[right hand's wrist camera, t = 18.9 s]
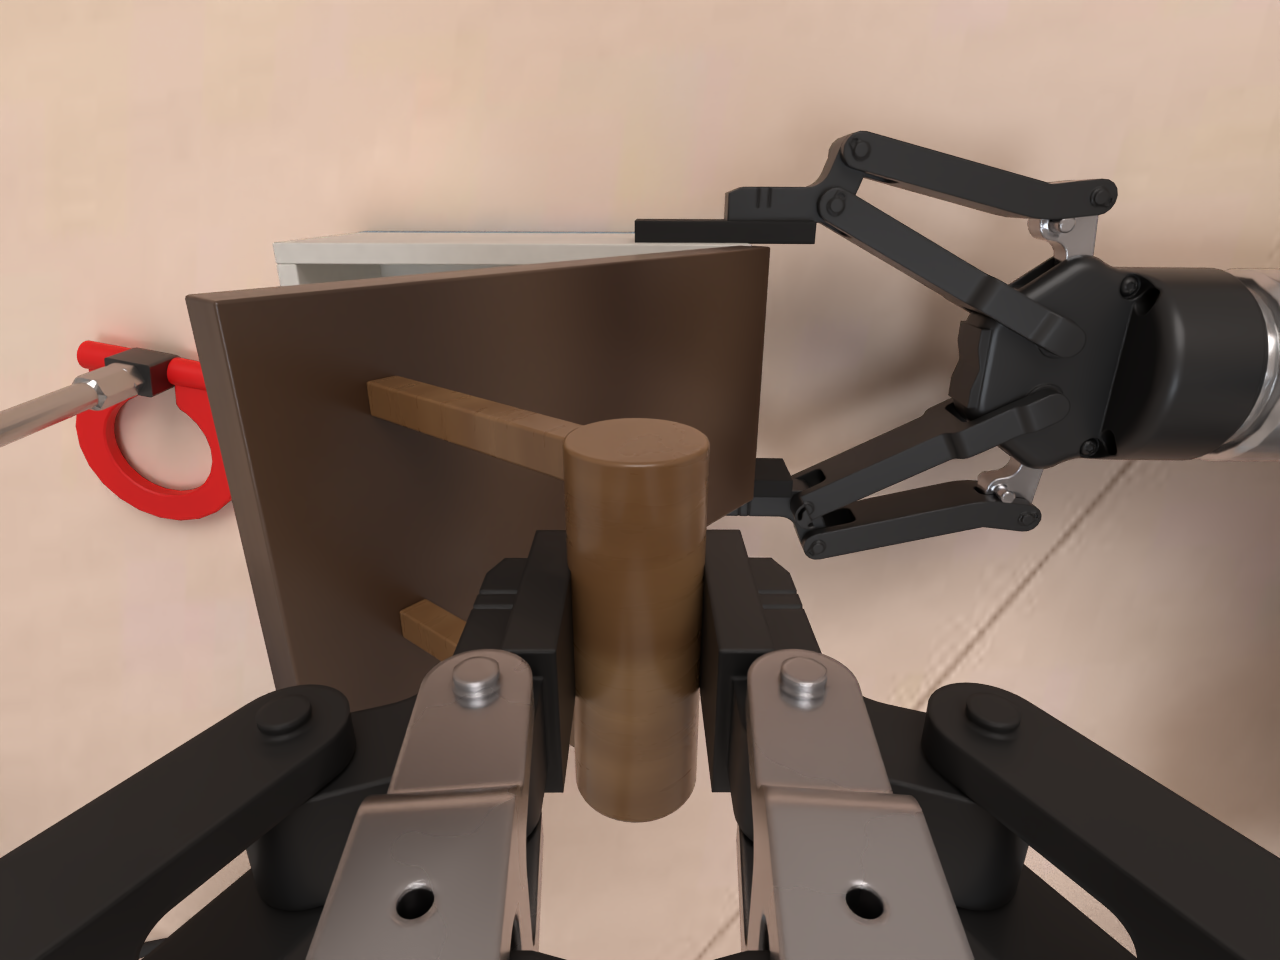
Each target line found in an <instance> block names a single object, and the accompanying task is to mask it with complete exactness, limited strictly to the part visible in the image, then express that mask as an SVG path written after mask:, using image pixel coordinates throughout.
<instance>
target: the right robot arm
mask: <svg viewBox="0 0 1280 960" xmlns="http://www.w3.org/2000/svg"><path fill="white" fill-rule="evenodd" d="M699 688H700V696H701V705H702V713H703V721H704V730H705V738H706V746H707V755H708V763H709V772H710V780H711V788H712V792H731V797H732V804H733V810H734V815H735V819H736V821H737V838H736V842H737V865H738V887H739V909H740V932H741V952H740V953H737V954H733V955H729V956H726V957H722V958H718V959H715V960H1280V858H1279V857H1277V856H1275V855H1274V854H1272V853H1271V852H1269V851H1267V850H1266V849H1264V848H1263V847H1261V846H1259V845H1258V844H1256V843H1255V842H1253V841H1251V840H1250V839H1248V838H1246V837H1245V836H1243V835H1242V834H1240V833H1238V832H1237V831H1235V830H1234V829H1232V828H1230V827H1229V826H1227V825H1226V824H1224V823H1222V822H1221V821H1219V820H1218V819H1216V818H1214V817H1213V816H1211V815H1210V814H1208V813H1206V812H1205V811H1203V810H1202V809H1200V808H1198V807H1197V806H1195V805H1194V804H1192V803H1190V802H1189V801H1187V800H1186V799H1184V798H1182V797H1181V796H1179V795H1178V794H1176V793H1174V792H1173V791H1171V790H1170V789H1168V788H1166V787H1165V786H1163V785H1162V784H1160V783H1158V782H1157V781H1155V780H1154V779H1152V778H1150V777H1149V776H1147V775H1146V774H1144V773H1142V772H1141V771H1139V770H1138V769H1136V768H1134V767H1133V766H1131V765H1130V764H1128V763H1126V762H1125V761H1123V760H1122V759H1120V758H1118V757H1117V756H1115V755H1113V754H1112V753H1110V752H1109V751H1107V750H1105V749H1104V748H1102V747H1101V746H1099V745H1097V744H1096V743H1094V742H1093V741H1091V740H1089V739H1088V738H1086V737H1085V736H1083V735H1081V734H1080V733H1078V732H1077V731H1075V730H1073V729H1072V728H1070V727H1069V726H1067V725H1065V724H1064V723H1062V722H1061V721H1059V720H1057V719H1056V718H1054V717H1053V716H1051V715H1049V714H1048V713H1046V712H1045V711H1043V710H1041V709H1040V708H1038V707H1037V706H1035V705H1033V704H1032V703H1030V702H1029V701H1027V700H1025V699H1023V698H1021V697H1020V696H1018V695H1015V694H1013V693H1011V692H1009V691H1006V690H1003V689H1000V688H997V687H993V686H989V685H984V684H978V683H955V684H949V685H946V686H943V687H941V688H939V689H937V690H936V691H935V692H934V693H933V694H932V695H931V697H930V698H929V701H928V706H927V711H926V713H925V712H920V711H916V710H911V709H907V708H902V707H897V706H893V705H888V704H884V703H881V702H877V701H874V700H871V699H868V698H866V697H864V696H862V693H861V689H860V686H859V683H858V681H857V679H856V677H855V676H854V675H853V673H852V672H851V671H850V670H849V669H848V668H847V667H846V666H844V665H843V664H841V663H840V662H838V661H837V660H835V659H833V658H831V657H829V656H826V655H824V654H822V653H821V651H820V648H819V646H818V643H817V641H816V638H815V636H814V633H813V631H812V628H811V626H810V623H809V621H808V618H807V616H806V613H805V611H804V609H802V603H801V600H800V598H799V595H798V594H797V590H796V588H795V585H794V583H793V580H792V578H791V575H790V573H789V572H788V571H787V570H785V569H784V568H783V567H782V566H781V565H779V564H778V563H777V562H776V561H774V560H773V559H772V558H748V555H747V552H746V549H745V545H744V542H743V539H742V535H741V532H740V530H706V551H705V565H704V585H703V610H702V635H701V660H700V685H699ZM575 697H576V692H575V667H574V643H573V618H572V594H571V571H570V569H569V567H568V564H567V545H566V530H536V533H535V536H534V539H533V542H532V545H531V549H530V552H529V555H528V558H504V559H503V560H502V561H501V562H499V563H498V564H497V565H496V566H494V567H493V568H492V569H491V570H490V571H488V572H487V573H486V575H485V578H484V580H483V583H482V585H481V588H480V590H479V594H478V595H477V597H476V600H475V602H474V605H473V609H472V610H471V612H470V615H469V617H468V619H467V622H466V624H465V627H464V629H463V632H462V634H461V637H460V639H459V642H458V644H457V646H456V649H455V651H454V654H453V656H451V657H449V658H447V659H445V660H443V661H442V662H440V663H438V664H437V665H436V666H434V667H433V668H432V669H431V670H430V671H429V672H428V673H427V674H426V676H425V677H424V679H423V681H422V683H421V686H420V689H419V692H418V694H416V695H414V696H412V697H410V698H407V699H404V700H402V701H399V702H395V703H391V704H388V705H383V706H379V707H374V708H369V709H365V710H360V711H355V712H351V711H350V706H349V701H348V699H347V698H346V696H345V695H344V694H343V693H342V692H340V691H339V690H337V689H335V688H332V687H329V686H324V685H315V684H308V685H297V686H291V687H287V688H283V689H279V690H276V691H273V692H271V693H268V694H266V695H263V696H261V697H259V698H257V699H255V700H254V701H252V702H250V703H248V704H247V705H245V706H243V707H242V708H240V709H239V710H237V711H235V712H234V713H232V714H231V715H229V716H227V717H226V718H224V719H223V720H221V721H219V722H218V723H216V724H215V725H213V726H211V727H210V728H208V729H207V730H205V731H203V732H202V733H200V734H199V735H197V736H195V737H194V738H192V739H191V740H189V741H187V742H186V743H184V744H183V745H181V746H179V747H178V748H176V749H174V750H173V751H171V752H170V753H168V754H166V755H165V756H163V757H162V758H160V759H158V760H157V761H155V762H154V763H152V764H150V765H149V766H147V767H146V768H144V769H142V770H141V771H139V772H138V773H136V774H134V775H133V776H131V777H130V778H128V779H126V780H125V781H123V782H122V783H120V784H118V785H117V786H115V787H114V788H112V789H110V790H109V791H107V792H106V793H104V794H102V795H101V796H99V797H98V798H96V799H94V800H93V801H91V802H90V803H88V804H86V805H85V806H83V807H82V808H80V809H78V810H77V811H75V812H74V813H72V814H70V815H69V816H67V817H66V818H64V819H62V820H61V821H59V822H58V823H56V824H54V825H53V826H51V827H50V828H48V829H46V830H45V831H43V832H41V833H40V834H38V835H37V836H35V837H33V838H32V839H30V840H29V841H27V842H25V843H24V844H22V845H21V846H19V847H17V848H16V849H14V850H13V851H11V852H9V853H8V854H6V855H5V856H3V857H1V858H0V960H139V959H140V958H142V957H144V958H143V959H141V960H565V959H562V958H558V957H554V956H551V955H547V954H543V953H540V952H539V930H540V907H541V885H542V862H543V825H542V803H543V797H544V793H554V792H563V791H564V783H565V775H566V767H567V760H568V752H569V744H570V736H571V728H572V720H573V712H574V705H575ZM1028 846H1031V847H1032V848H1033V849H1034V850H1036V851H1037V852H1038V853H1039V854H1041V855H1042V856H1043V857H1044V858H1046V859H1047V860H1048V861H1049V862H1051V863H1052V864H1053V865H1054V866H1055V867H1057V868H1058V869H1059V870H1060V871H1062V872H1063V873H1064V874H1065V875H1067V876H1068V877H1069V878H1070V879H1072V880H1073V881H1074V882H1075V883H1077V884H1078V885H1079V886H1080V887H1082V888H1083V889H1084V890H1085V891H1087V892H1088V893H1089V894H1090V895H1092V896H1093V897H1094V898H1095V899H1097V900H1098V901H1099V902H1100V903H1102V904H1103V905H1104V906H1105V907H1106V908H1108V909H1109V910H1110V911H1111V912H1112V913H1113V914H1114V915H1115V916H1116V917H1117V918H1118V919H1119V921H1120V922H1121V923H1122V924H1123V926H1124V927H1125V929H1126V930H1127V932H1128V933H1129V935H1130V937H1131V939H1132V941H1133V944H1134V946H1135V949H1136V954H1137V958H1136V957H1135V956H1134V955H1133V954H1131V953H1130V952H1129V951H1128V950H1127V949H1125V948H1124V947H1123V946H1122V945H1121V944H1119V943H1118V942H1117V941H1116V940H1115V939H1113V938H1112V937H1111V936H1110V935H1109V934H1107V933H1106V932H1105V931H1104V930H1103V929H1101V928H1100V927H1099V926H1098V925H1097V924H1095V923H1094V922H1093V921H1092V920H1090V919H1089V918H1088V917H1087V916H1086V915H1084V914H1083V913H1082V912H1081V911H1080V910H1078V909H1077V908H1076V907H1075V906H1074V905H1072V904H1071V903H1070V902H1069V901H1068V900H1066V899H1065V898H1064V897H1063V896H1062V895H1060V894H1059V893H1058V892H1057V891H1056V890H1054V889H1053V888H1052V887H1051V886H1050V885H1048V884H1047V883H1046V882H1045V881H1044V880H1042V879H1041V878H1040V877H1039V876H1038V875H1036V874H1035V873H1034V872H1033V871H1032V870H1030V869H1029V868H1028V867H1027V866H1026V865H1024V861H1025V857H1026V853H1027V850H1028ZM244 850H246V851H247V855H248V858H249V862H250V865H251V869H250V870H248V871H247V872H246V873H245V874H244V875H242V876H241V877H240V878H239V879H238V880H236V881H235V882H234V883H233V884H232V885H230V886H229V887H228V888H227V889H226V890H224V891H223V892H222V893H221V894H220V895H218V896H217V897H216V898H215V899H214V900H212V901H211V902H210V903H209V904H208V905H206V906H205V907H204V908H203V909H202V910H200V911H199V912H198V913H197V914H195V915H194V916H193V917H192V918H191V919H189V920H188V921H187V922H186V923H185V924H183V925H182V926H181V927H180V928H179V929H177V930H176V931H175V932H174V933H173V934H171V935H170V936H169V937H168V938H164V939H159V940H154V941H150V942H145V940H146V938H147V936H148V935H149V933H150V932H151V930H152V929H153V927H154V926H155V925H156V924H157V922H158V921H159V920H160V919H161V918H162V917H163V916H164V915H165V914H166V913H167V912H169V911H170V910H171V909H172V908H173V907H175V906H176V905H177V904H178V903H180V902H181V901H182V900H183V899H185V898H186V897H187V896H188V895H190V894H191V893H192V892H193V891H195V890H196V889H197V888H198V887H200V886H201V885H202V884H203V883H205V882H206V881H207V880H208V879H210V878H211V877H212V876H213V875H215V874H216V873H217V872H218V871H219V870H221V869H222V868H223V867H224V866H226V865H227V864H228V863H229V862H231V861H232V860H233V859H234V858H236V857H237V856H238V855H239V854H241V853H242V852H243V851H244ZM144 942H145V943H144Z"/></svg>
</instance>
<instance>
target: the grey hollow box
mask: <svg viewBox="0 0 1280 960" xmlns="http://www.w3.org/2000/svg"><path fill="white" fill-rule="evenodd" d="M738 245H742V246H752V245H751V244H749V243H635V232H445V231H364V232H358V233H350V234H342V235H333V236H325V237H316V238H308V239H299V240H291V241H283V242H274V243H273V249H274V254H275V260H276V263H277V270H278V275H279V281H280V286H291V285H302V284H313V283H324V282H336V281H347V280H358V279H369V278H380V277H392V276H403V275H414V274H425V273H436V272H448V271H459V270H470V269H481V268H492V267H503V266H515V265H526V264H537V263H548V262H559V261H571V260H582V259H593V258H604V257H615V256H626V255H638V254H649V253H660V252H671V251H682V250H694V249H705V248H716V247H727V246H738Z"/></svg>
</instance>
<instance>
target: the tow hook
mask: <svg viewBox="0 0 1280 960" xmlns="http://www.w3.org/2000/svg"><path fill="white" fill-rule="evenodd" d="M77 360H78V362H79V364H80V365H81V366H82V367H83V368H87V369H89V372H88V373H85V374H82V375H80V376H78V377H76V378H75V380H74V381H73V383H72V385H70V386H67V387H65V388H62V389H59V390H57V391H54V392H51V393H49V394H46V395H43V396H41V397H38V398H35V399H33V400H30V401H27V402H25V403H22V404H19V405H17V406H14V407H11V408H9V409H6V410H3V411H1V412H0V447H3V446H5V445H7V444H10V443H12V442H14V441H17V440H19V439H21V438H24V437H26V436H28V435H31V434H33V433H35V432H38V431H40V430H42V429H45V428H47V427H49V426H52V425H54V424H56V423H59V422H61V421H63V420H66V419H68V418H70V417H73V416H75V415H77V417H76V430H77V435H78V440H79V444H80V447H81V449H82V452H83V454H84V456H85V458H86V460H87V462H88V464H89V466H90V467H91V468H92V470H93V471H94V472H95V474H96V475H97V476H98V478H99V479H100V480H101V481H102V483H103V484H104V485H105V486H107V487H108V488H109V489H110V490H111V491H112V492H113V493H115V494H116V495H117V496H118V497H119V498H120V499H122V500H124V501H125V502H127V503H129V504H130V505H132V506H134V507H135V508H137V509H139V510H141V511H144V512H146V513H149V514H152V515H155V516H157V517H160V518H167V519H174V520H190V519H200V518H203V517H205V516H208V515H210V514H213V513H215V512H217V511H218V510H220V509H221V508H222V507H223V506H225V505H226V504H227V503H228V502H230V501H231V500H232V498H231V494H230V490H229V485H228V481H227V477H226V472H225V468H224V464H223V460H222V455H221V451H220V447H219V442H218V438H217V434H216V429H215V425H214V421H213V416H212V412H211V408H210V404H209V399H208V395H207V391H206V386H205V382H204V378H203V373H202V369H201V365H200V362H199V361H194V360H189V359H184V358H181V357H179V356H178V355H173V354H168V353H163V352H158V351H152V350H147V349H142V348H132V349H131V348H126V347H120V346H115V345H110V344H105V343H99V342H94V341H89V340H88V341H85V342H83V343H82V344H81V345H80V346H79V348H78V351H77ZM173 387H175V394H176V404H177V406H178V407H179V408H180V410H182V411H183V412H185V413H186V414H187V415H188V416H189V417H190V418H192V419H193V420H194V421H195V422H196V423H197V424H198V426H199V427H200V429H201V430H202V432H203V433H204V434H205V436H206V438H207V441H208V443H209V446H210V448H211V454H212V467H211V473H210V475H209V477H208V478H207V480H206V482H205V483H204V484H203V485H202V486H200V487H198V488H195V489H193V490H183V491H179V490H172V489H166V488H164V487H161V486H158V485H155V484H153V483H152V482H150V481H148V480H147V479H145V478H143V477H142V476H141V475H139V474H138V473H137V472H136V471H135V470H134V469H133V468H132V467H131V466H130V465H129V464H128V462H127V461H126V460H125V458H124V457H123V456H122V454H121V452H120V450H119V447H118V445H117V443H116V439H115V433H114V424H115V417H116V415H117V413H118V411H119V409H120V407H121V406H122V405H124V404H125V403H126V402H127V401H128V400H129V399H132V398H134V397H136V396H137V395H141V396H146V397H153V396H155V395H157V394H159V393H162V392H164V391H166V390H168V389H170V388H173Z"/></svg>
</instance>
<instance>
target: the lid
mask: <svg viewBox="0 0 1280 960" xmlns="http://www.w3.org/2000/svg"><path fill="white" fill-rule="evenodd" d="M769 258H770V248H769V247H762V246H742V245H738V246H727V247H716V248H705V249H694V250H682V251H671V252H660V253H649V254H638V255H626V256H615V257H604V258H593V259H582V260H571V261H559V262H548V263H537V264H526V265H515V266H503V267H492V268H481V269H470V270H459V271H448V272H436V273H425V274H414V275H403V276H392V277H380V278H369V279H358V280H347V281H336V282H324V283H313V284H302V285H291V286H280V287H269V288H257V289H246V290H235V291H224V292H213V293H201V294H190V295H187V296H186V298H185V300H186V304H187V309H188V313H189V317H190V322H191V326H192V330H193V335H194V339H195V343H196V348H197V352H198V356H199V360H200V365H201V369H202V373H203V378H204V382H205V386H206V391H207V395H208V399H209V404H210V408H211V412H212V416H213V421H214V425H215V429H216V434H217V438H218V442H219V447H220V451H221V455H222V460H223V464H224V468H225V472H226V477H227V481H228V485H229V490H230V494H231V498H232V503H233V507H234V511H235V516H236V520H237V524H238V528H239V533H240V537H241V541H242V546H243V550H244V554H245V559H246V563H247V567H248V572H249V576H250V580H251V584H252V589H253V593H254V597H255V602H256V606H257V610H258V615H259V619H260V623H261V628H262V632H263V636H264V640H265V645H266V649H267V653H268V658H269V662H270V666H271V671H272V675H273V679H274V684H275V688H276V690H279V689H283V688H287V687H291V686H297V685H308V684H315V685H324V686H329V687H332V688H335V689H337V690H339V691H340V692H342V693H343V694H344V695H345V696H346V698H347V699H348V701H349V706H350V711H351V712H355V711H360V710H365V709H369V708H374V707H379V706H383V705H388V704H391V703H395V702H399V701H402V700H404V699H407V698H410V697H412V696H414V695H416V694H418V692H419V689H420V686H421V683H422V681H423V679H424V677H425V676H426V674H427V673H428V672H429V671H430V670H431V669H432V668H433V667H434V666H436V665H437V664H438V663H440V662H442V661H443V660H445V659H447V658H449V657H451V656H453V654H454V651H455V649H456V646H457V644H458V642H459V639H460V637H461V634H462V632H463V629H464V627H465V624H466V622H467V619H468V617H469V615H470V612H471V610H472V609H473V605H474V602H475V600H476V597H477V595H478V594H479V590H480V588H481V585H482V583H483V580H484V578H485V575H486V573H487V572H488V571H490V570H491V569H492V568H493V567H494V566H496V565H497V564H498V563H499V562H501V561H502V560H503V559H504V558H528V555H529V552H530V549H531V545H532V542H533V539H534V536H535V533H536V530H566V545H567V564H568V567H569V569H570V571H571V594H572V618H573V643H574V667H575V692H576V697H575V705H574V712H573V720H572V728H571V736H570V745H572V746H573V747H575V767H576V782H577V786H578V789H579V791H580V793H581V795H582V796H583V798H584V799H585V801H586V802H587V803H588V804H589V805H590V806H591V807H592V808H593V809H595V810H596V811H597V812H599V813H601V814H602V815H605V816H607V817H609V818H612V819H615V820H619V821H624V822H648V821H653V820H657V819H660V818H663V817H665V816H667V815H669V814H671V813H673V812H674V811H676V810H677V809H679V808H680V807H681V806H682V805H683V804H684V803H685V802H686V801H687V799H688V798H689V796H690V795H691V793H692V791H693V789H694V786H695V782H696V766H697V742H698V718H699V694H700V688H699V685H700V660H701V635H702V610H703V585H704V565H705V551H706V527H707V526H708V525H710V524H712V523H713V522H715V521H717V520H718V519H720V518H722V517H724V516H725V515H727V514H729V513H730V512H732V511H734V510H736V509H737V508H739V507H741V506H742V505H744V504H746V503H747V502H749V501H751V500H753V494H754V479H755V464H756V449H757V435H758V420H759V405H760V391H761V376H762V361H763V346H764V332H765V317H766V302H767V287H768V273H769Z"/></svg>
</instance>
